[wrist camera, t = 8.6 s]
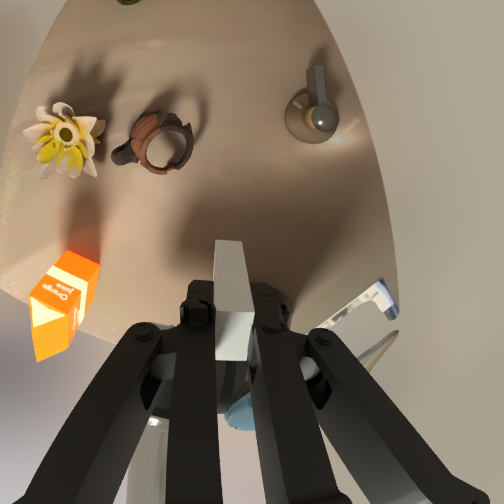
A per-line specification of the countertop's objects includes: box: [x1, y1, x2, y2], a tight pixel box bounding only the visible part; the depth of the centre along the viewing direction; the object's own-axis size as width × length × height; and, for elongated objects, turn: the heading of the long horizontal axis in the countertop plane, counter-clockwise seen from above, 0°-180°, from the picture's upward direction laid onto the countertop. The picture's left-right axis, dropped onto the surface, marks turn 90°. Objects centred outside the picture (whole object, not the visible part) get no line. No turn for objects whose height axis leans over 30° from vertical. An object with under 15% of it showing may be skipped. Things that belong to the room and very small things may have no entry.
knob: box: [302, 66, 339, 132], centre depth 32 cm, size 9×4×5 cm, turn 6°
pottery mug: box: [111, 108, 194, 175], centre depth 34 cm, size 12×10×8 cm
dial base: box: [285, 93, 337, 144], centre depth 36 cm, size 8×8×2 cm
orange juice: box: [29, 250, 100, 362], centre depth 36 cm, size 8×9×20 cm
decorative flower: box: [23, 102, 106, 179], centre depth 30 cm, size 15×11×10 cm
